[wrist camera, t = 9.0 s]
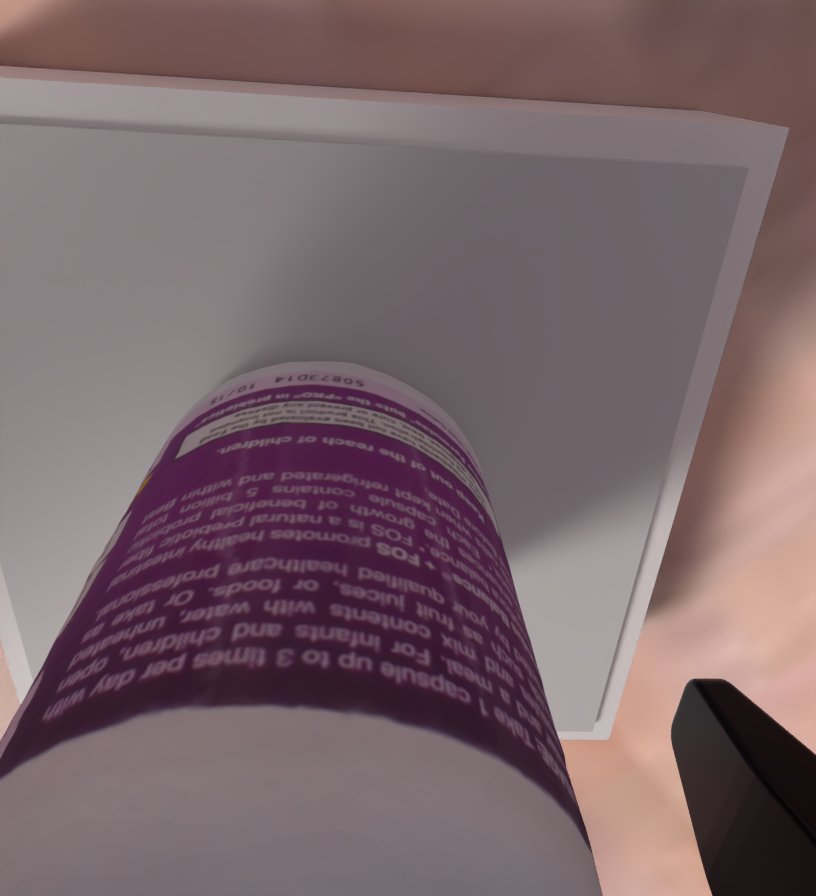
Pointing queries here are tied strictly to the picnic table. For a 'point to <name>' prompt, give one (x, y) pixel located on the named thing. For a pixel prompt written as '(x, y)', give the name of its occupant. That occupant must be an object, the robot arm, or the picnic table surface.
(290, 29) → the picnic table surface
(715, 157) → the plinth
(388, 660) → the pill bottle
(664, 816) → the picnic table surface
